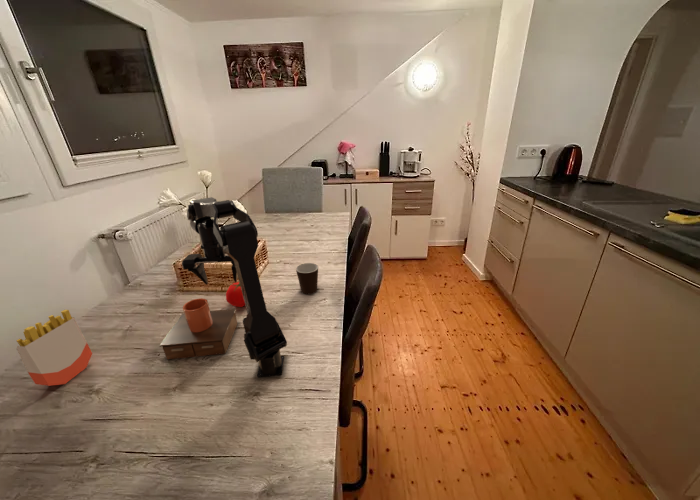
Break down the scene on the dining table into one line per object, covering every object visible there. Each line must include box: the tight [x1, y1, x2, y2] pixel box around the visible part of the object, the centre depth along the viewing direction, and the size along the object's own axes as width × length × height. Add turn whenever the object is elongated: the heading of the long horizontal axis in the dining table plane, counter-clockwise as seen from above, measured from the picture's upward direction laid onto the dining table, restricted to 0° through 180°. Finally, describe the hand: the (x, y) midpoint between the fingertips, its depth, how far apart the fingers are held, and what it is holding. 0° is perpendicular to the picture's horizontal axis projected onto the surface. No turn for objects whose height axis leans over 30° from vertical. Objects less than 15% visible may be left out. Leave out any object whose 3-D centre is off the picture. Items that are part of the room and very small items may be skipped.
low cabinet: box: [159, 308, 238, 360], centre depth 85 cm, size 15×17×6 cm
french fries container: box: [16, 309, 93, 387], centre depth 72 cm, size 5×11×18 cm, turn 171°
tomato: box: [225, 281, 246, 308], centre depth 103 cm, size 9×10×8 cm
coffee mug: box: [295, 262, 319, 295], centre depth 111 cm, size 12×9×10 cm
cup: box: [182, 297, 213, 332], centre depth 83 cm, size 6×6×8 cm
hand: (221, 282), depth 93 cm, fingers open, 9 cm apart
